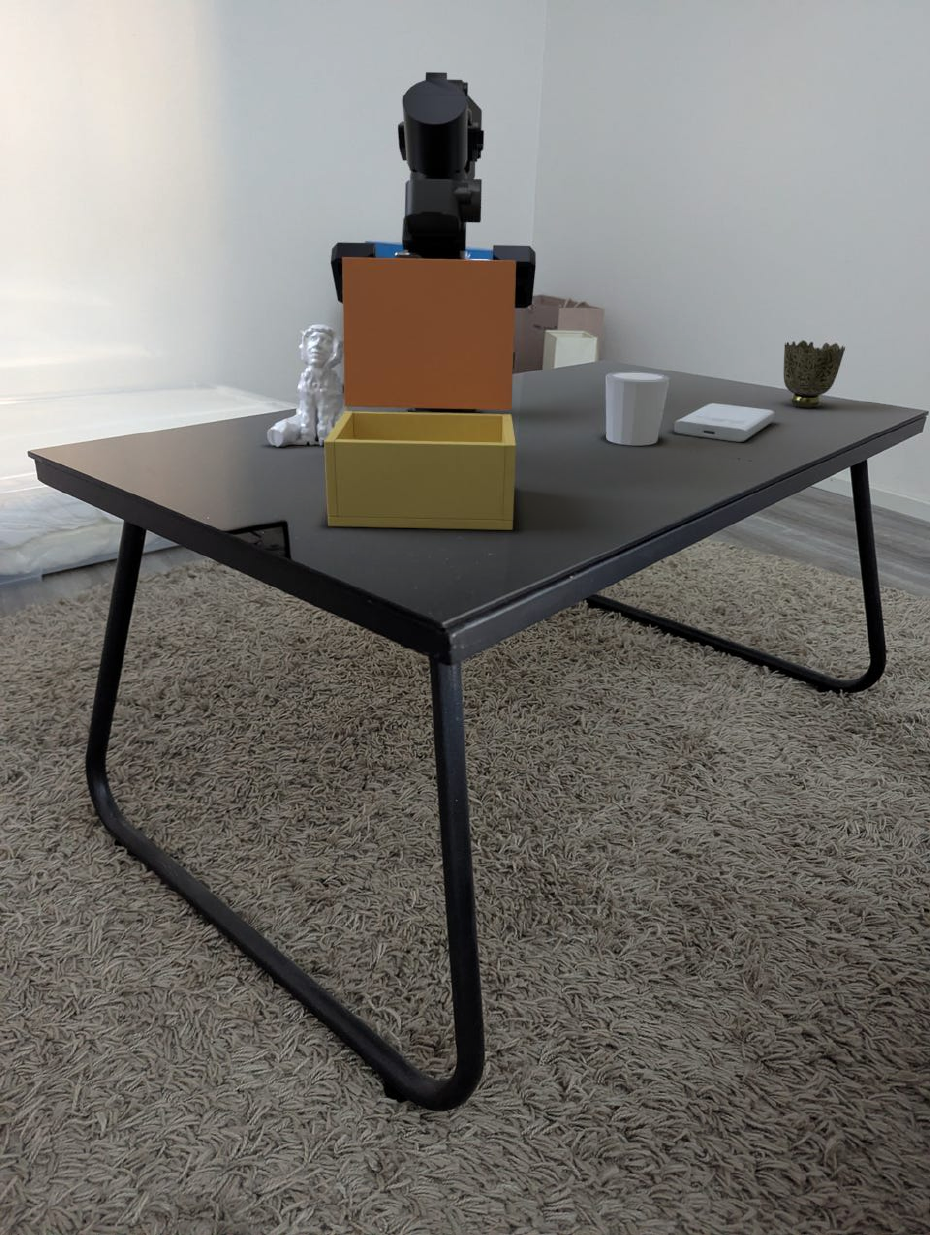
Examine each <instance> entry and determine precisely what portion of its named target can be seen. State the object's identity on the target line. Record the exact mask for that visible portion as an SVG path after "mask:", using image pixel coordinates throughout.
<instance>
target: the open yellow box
mask: <svg viewBox="0 0 930 1235" xmlns="http://www.w3.org/2000/svg"><path fill="white" fill-rule="evenodd" d="M513 423H514V422H513V417H512V414H511V413H485V412H484V413H483V412H482V413H481V412H480V413H477V412H476V413H475V412H471V413H436V412H408V411H386V410H385V411H384V410H383V411H381V410H380V411H378V410H349V411H345V412H344V413H343V415H342V416H341V418H340V419H339V421H338V422H337V424H336V425H335V427H334V428H333V429H332V431H331V432H330V434H329V435H328V437H327V438H326V440H325V441H324V444H323V447H324V448H323V449H324V465H325V467H324V468H325V488H326V506H327V508H326V509H327V525H328V527H350V528H353V527H354V528H355V527H356V528H362V527H363V528H396V529H397V528H400V529H405V528H406V529H407V528H408V529H444V530H445V529H447V530H496V531H497V530H498V531H512V530H513V529H514V528H513V527H514V521H513V520H514V508H515V507H514V504H515V483H516V482H515V480H516V458H517V457H516V455H517V443H516V436H515V430H514V424H513Z"/></svg>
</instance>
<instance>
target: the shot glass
mask: <svg viewBox="0 0 930 1235" xmlns="http://www.w3.org/2000/svg"><path fill="white" fill-rule="evenodd" d="M670 381H671V379H670V377H669V376H667V375H665V374H660V373H655V372H649V371H637V370H634V371H633V370H625V371H614V372H609V373H607V374H606V375H605V436H606V440H607V441H608V442H611V443H613V444H616V445H617V444H618V445H622V446H623V445H625V446H650V445H653V444H654V445H655V444H656V443H658V440H659V436H660V435H659V434H660V429H661V424H662V419H663V414H664V409H665V405H666V404H665V403H666V399H667V394H668V389H669V385H670Z"/></svg>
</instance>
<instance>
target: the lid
mask: <svg viewBox="0 0 930 1235" xmlns="http://www.w3.org/2000/svg"><path fill="white" fill-rule="evenodd" d="M342 269H343V304H342V328H343V329H342V330H343V331H342V336H343V338H342V339H343V343H344V354H343V394H344V396H343V399H344V406H345V407H348V408H350V407H351V408H393V409H394V408H395V409H396V408H397V409H398V408H399V409H409V408H443V409H476V410H492V411H493V410H496V411H497V410H498V411H499V410H502V411H503V410H504V411H512V405H513V404H512V403H513V378H514V377H513V376H514V375H513V372H514V347H515V346H514V342H515V341H514V340H515V315H516V314H515V312H516V308H515V283H516V261H509V260H493V259H491V260H456V259H404V258H395V257H377V258H351V257H343V258H342Z"/></svg>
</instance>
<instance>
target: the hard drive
mask: <svg viewBox="0 0 930 1235" xmlns="http://www.w3.org/2000/svg"><path fill="white" fill-rule="evenodd" d="M774 419H775V411H773V410H772V409H765V408H758V407H757V408H756V407H751V406H740V405H734V404H725V403H716V402H712V403H708V404H706V405H704V406H703V407H701V408H699V409H696V410H694V411H693V412H691V413H689V414H687V415H685V416H683V417H682V418H680V419H677V420H676V421H674V426H673V432H674V433H676V434H678V435H686V436H691V437H692V436H693V437H701V438H706V439H707V438H708V439H714V440H720V441H721V440H723V441H727V442H728V441H729V442H730V441H731V442H737V443H741V442H744V441H746V440H748V439H749V438H750V437H752V436H754V435H755V434H756V433H758V432H759V431H761V430H762V429H764V428H765V427H767V426H768V425H770V424H772V423H773V422H774Z"/></svg>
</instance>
